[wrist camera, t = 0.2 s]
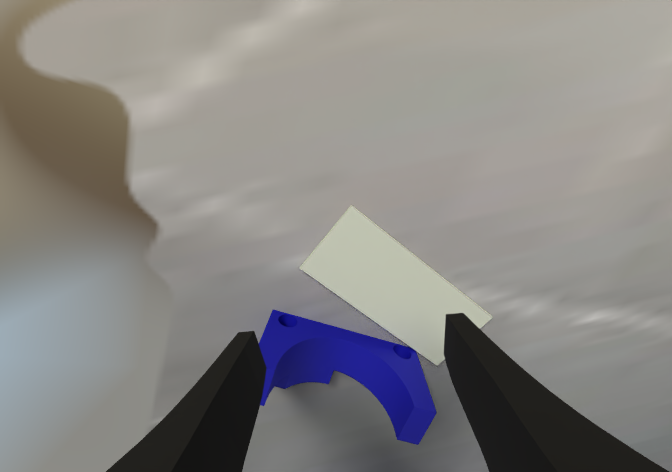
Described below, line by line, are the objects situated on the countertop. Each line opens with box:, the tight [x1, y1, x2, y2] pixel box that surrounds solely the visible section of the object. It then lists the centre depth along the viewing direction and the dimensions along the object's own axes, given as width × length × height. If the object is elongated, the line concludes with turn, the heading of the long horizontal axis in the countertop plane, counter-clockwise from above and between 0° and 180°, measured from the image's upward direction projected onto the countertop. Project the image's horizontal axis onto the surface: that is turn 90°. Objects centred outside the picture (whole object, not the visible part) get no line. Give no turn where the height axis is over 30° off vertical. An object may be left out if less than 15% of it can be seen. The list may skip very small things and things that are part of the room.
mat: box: [300, 205, 493, 366], centre depth 22 cm, size 6×14×1 cm, turn 52°
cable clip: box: [259, 310, 437, 445], centre depth 21 cm, size 12×4×6 cm, turn 73°
